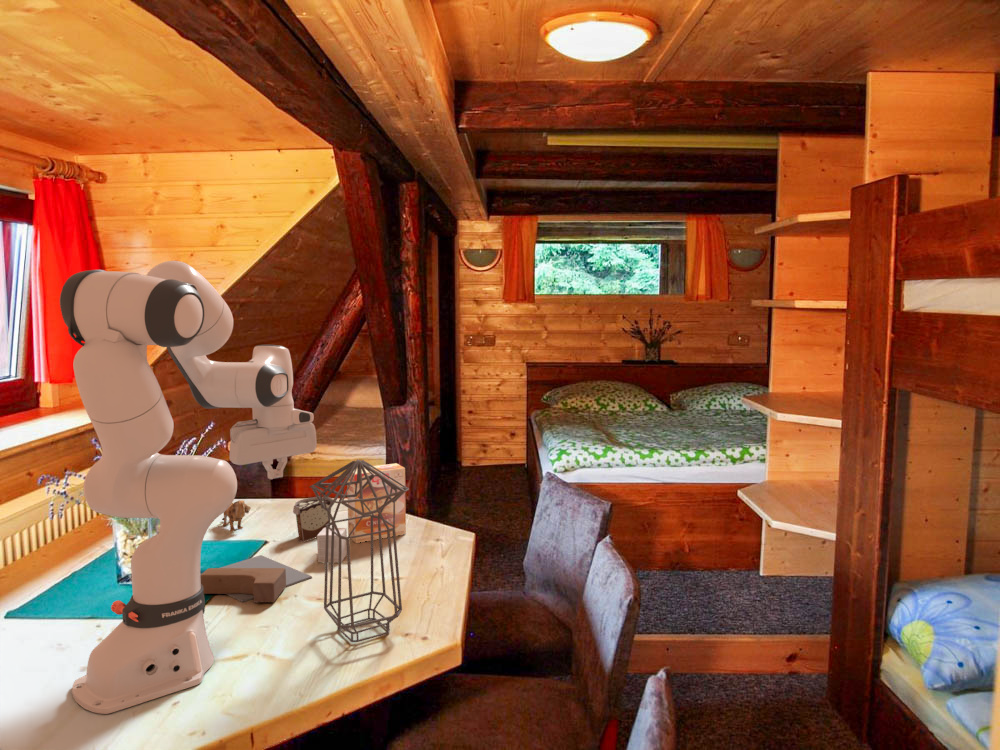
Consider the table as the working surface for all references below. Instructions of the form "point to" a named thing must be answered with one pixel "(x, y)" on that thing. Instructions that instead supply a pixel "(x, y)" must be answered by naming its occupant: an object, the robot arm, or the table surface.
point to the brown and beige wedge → (310, 517)
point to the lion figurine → (235, 514)
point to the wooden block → (245, 582)
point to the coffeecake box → (400, 508)
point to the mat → (264, 562)
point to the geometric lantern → (348, 472)
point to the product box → (322, 545)
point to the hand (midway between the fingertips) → (275, 477)
